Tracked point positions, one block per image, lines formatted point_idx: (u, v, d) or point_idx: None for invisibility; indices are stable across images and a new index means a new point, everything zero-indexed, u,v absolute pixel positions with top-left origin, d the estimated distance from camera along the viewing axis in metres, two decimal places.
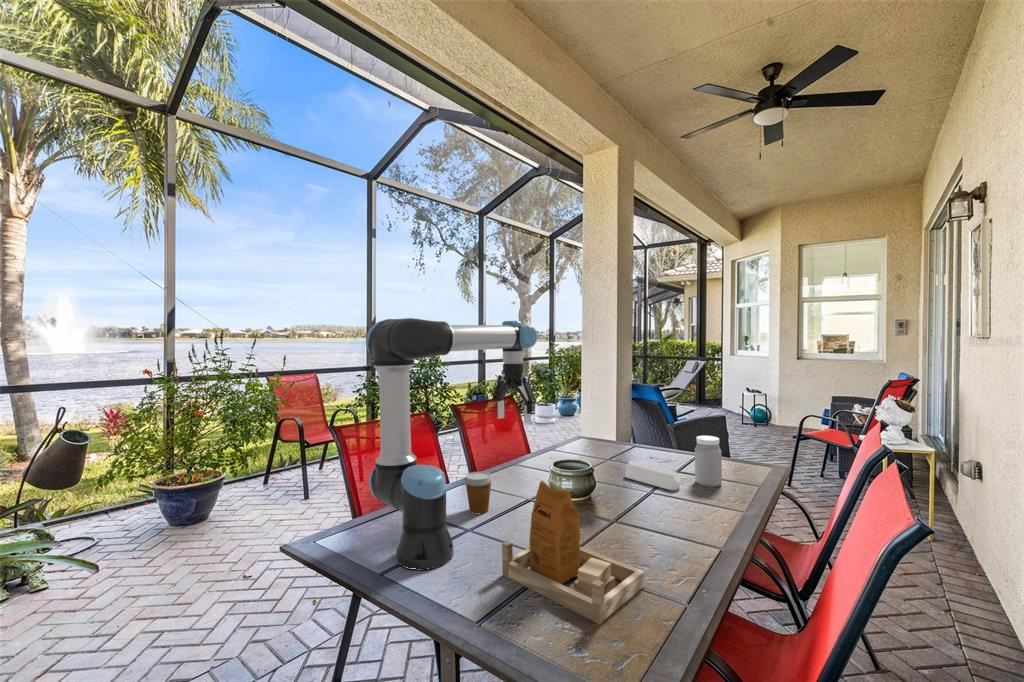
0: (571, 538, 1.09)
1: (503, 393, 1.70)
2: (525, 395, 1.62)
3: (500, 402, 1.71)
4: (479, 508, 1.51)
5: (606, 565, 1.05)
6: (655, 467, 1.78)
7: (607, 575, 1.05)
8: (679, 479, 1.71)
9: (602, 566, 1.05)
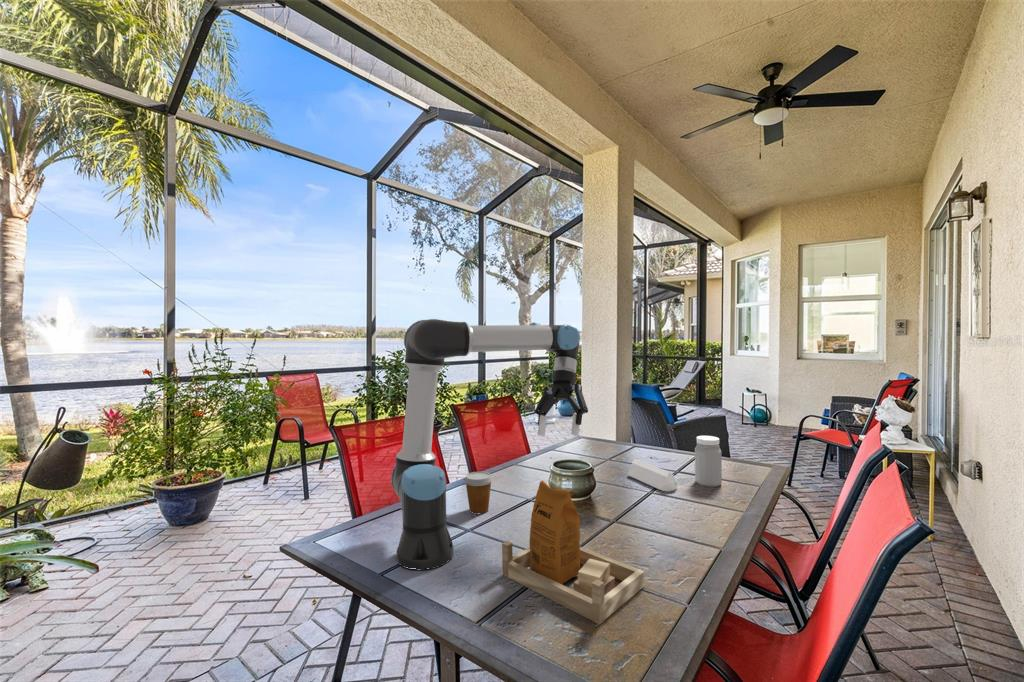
0: (571, 538, 1.09)
1: (548, 406, 1.51)
2: (575, 404, 1.43)
3: (543, 417, 1.51)
4: (479, 508, 1.51)
5: (605, 566, 1.05)
6: (654, 467, 1.77)
7: (607, 576, 1.05)
8: (674, 481, 1.69)
9: (602, 567, 1.04)
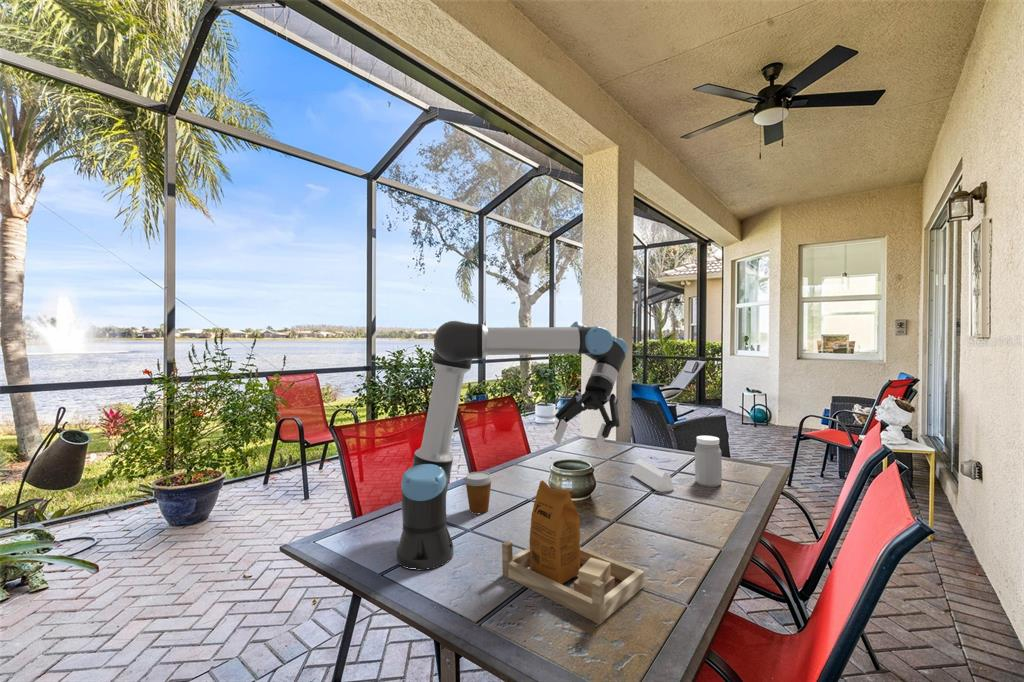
0: (571, 538, 1.09)
1: (573, 413, 1.32)
2: (607, 415, 1.24)
3: (564, 422, 1.31)
4: (479, 508, 1.51)
5: (606, 565, 1.05)
6: (653, 467, 1.77)
7: (607, 575, 1.05)
8: (669, 482, 1.69)
9: (602, 566, 1.05)
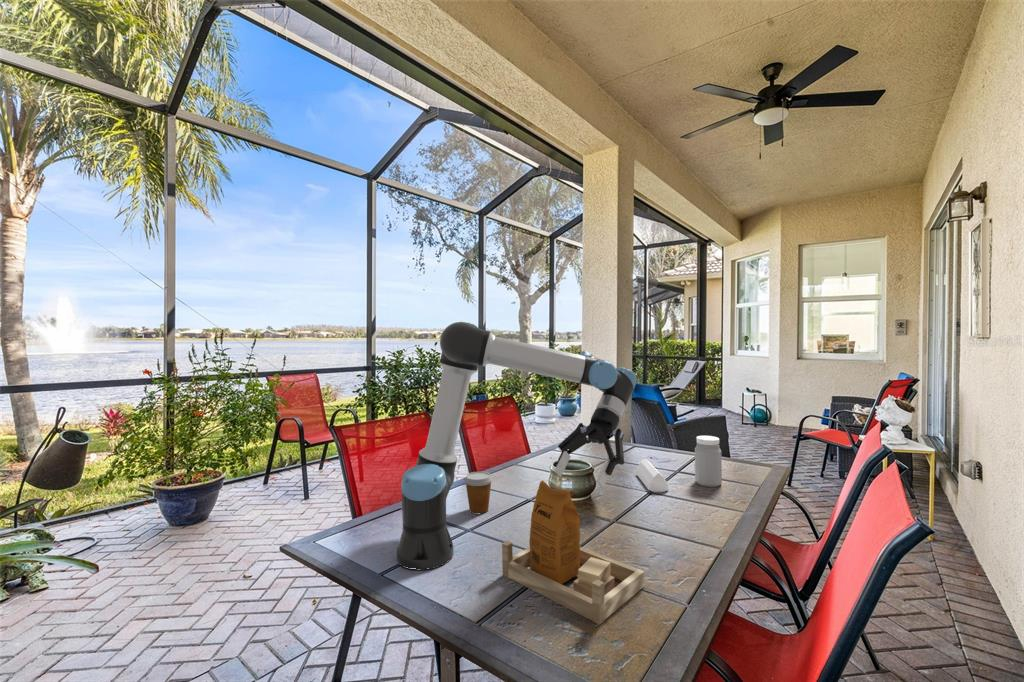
0: (571, 538, 1.09)
1: (576, 445, 1.28)
2: (611, 450, 1.20)
3: (567, 454, 1.27)
4: (479, 508, 1.51)
5: (606, 564, 1.06)
6: (651, 467, 1.77)
7: (607, 574, 1.05)
8: (661, 482, 1.68)
9: (602, 566, 1.05)
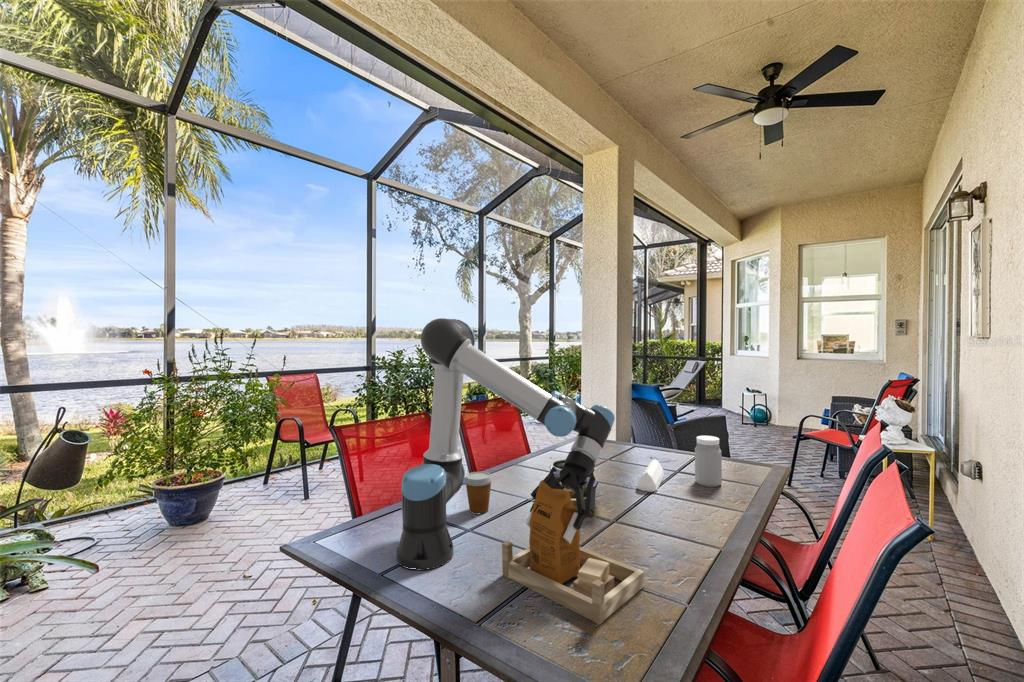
0: None
1: None
2: (582, 501, 1.12)
3: None
4: (479, 508, 1.51)
5: (605, 565, 1.05)
6: (648, 467, 1.78)
7: (606, 575, 1.05)
8: (648, 482, 1.69)
9: (601, 566, 1.05)
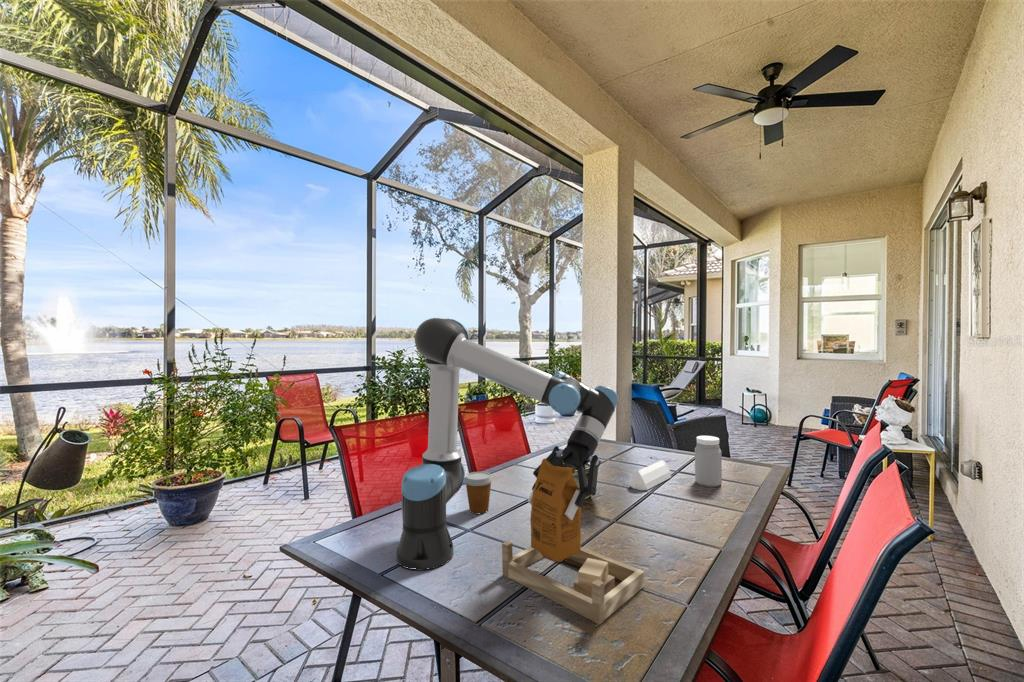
0: None
1: None
2: (584, 479, 1.12)
3: None
4: (479, 508, 1.51)
5: (604, 564, 1.06)
6: (646, 467, 1.78)
7: (606, 574, 1.05)
8: (638, 480, 1.71)
9: (601, 566, 1.05)
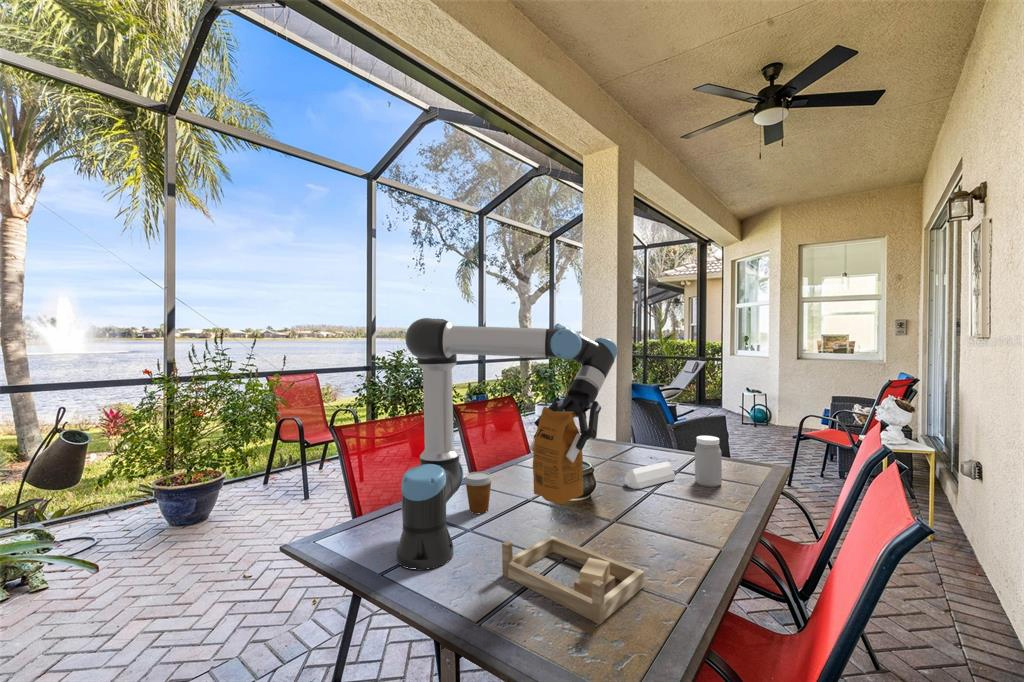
0: None
1: None
2: (584, 424, 1.13)
3: None
4: (479, 508, 1.51)
5: (606, 564, 1.06)
6: None
7: (607, 574, 1.05)
8: (631, 478, 1.73)
9: (602, 566, 1.05)
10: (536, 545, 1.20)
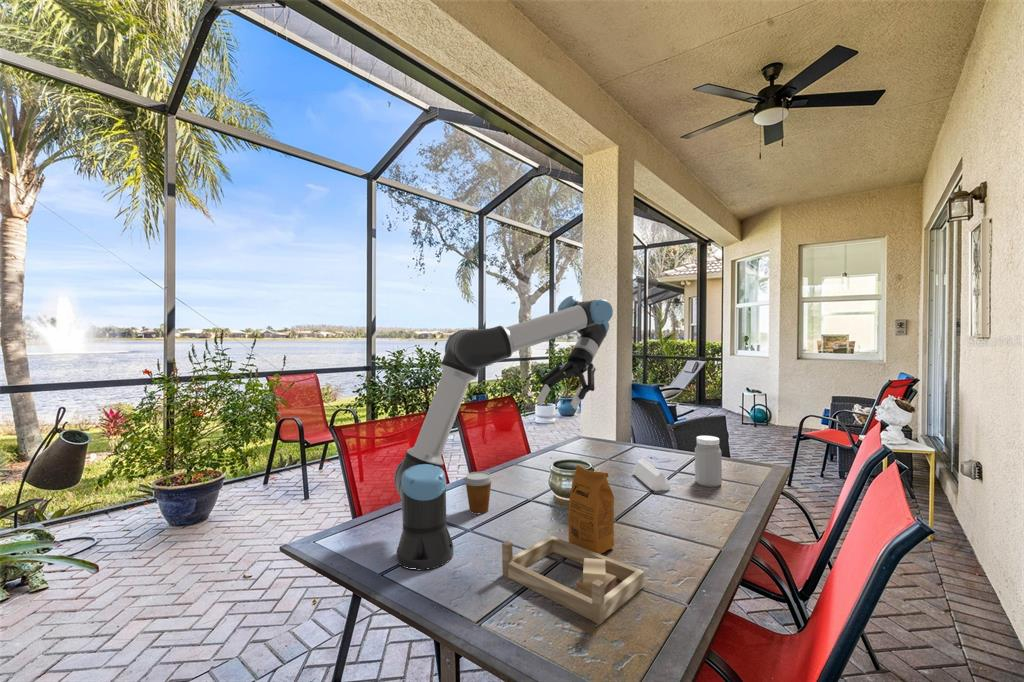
0: (607, 514, 1.23)
1: (555, 379, 1.49)
2: (584, 380, 1.41)
3: (547, 386, 1.48)
4: (479, 508, 1.51)
5: (603, 562, 1.07)
6: (650, 464, 1.82)
7: None
8: None
9: (601, 564, 1.06)
10: (536, 545, 1.20)
